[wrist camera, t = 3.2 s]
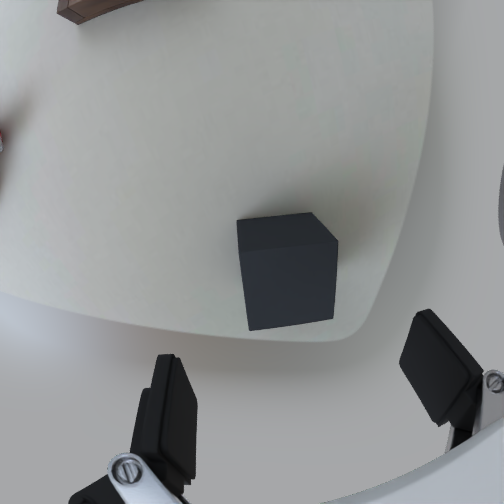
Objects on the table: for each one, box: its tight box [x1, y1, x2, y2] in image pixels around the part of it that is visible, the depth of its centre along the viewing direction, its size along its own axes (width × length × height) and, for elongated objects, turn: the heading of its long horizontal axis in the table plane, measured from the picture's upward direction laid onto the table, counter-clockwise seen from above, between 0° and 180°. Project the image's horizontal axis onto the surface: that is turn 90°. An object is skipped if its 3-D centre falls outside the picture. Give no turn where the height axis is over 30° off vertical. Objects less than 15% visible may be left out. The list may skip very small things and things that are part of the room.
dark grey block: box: [237, 213, 338, 331], centre depth 17 cm, size 5×5×5 cm
